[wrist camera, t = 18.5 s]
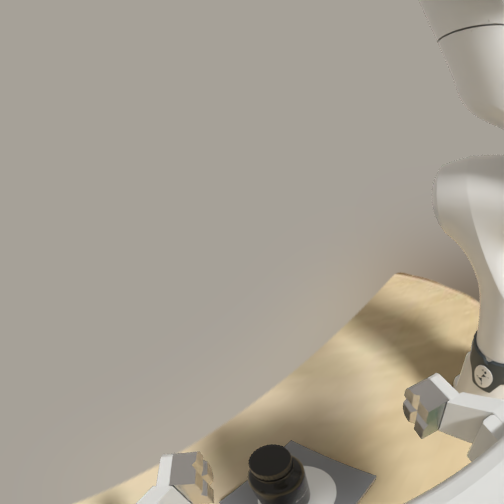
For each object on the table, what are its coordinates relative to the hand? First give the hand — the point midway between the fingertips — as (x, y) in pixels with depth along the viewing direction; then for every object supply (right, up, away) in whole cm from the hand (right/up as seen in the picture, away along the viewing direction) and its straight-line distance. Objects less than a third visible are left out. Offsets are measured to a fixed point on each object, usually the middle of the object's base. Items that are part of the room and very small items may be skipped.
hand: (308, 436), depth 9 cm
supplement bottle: (+3, -27, +19) cm, 33 cm away
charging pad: (+4, -28, +19) cm, 34 cm away
